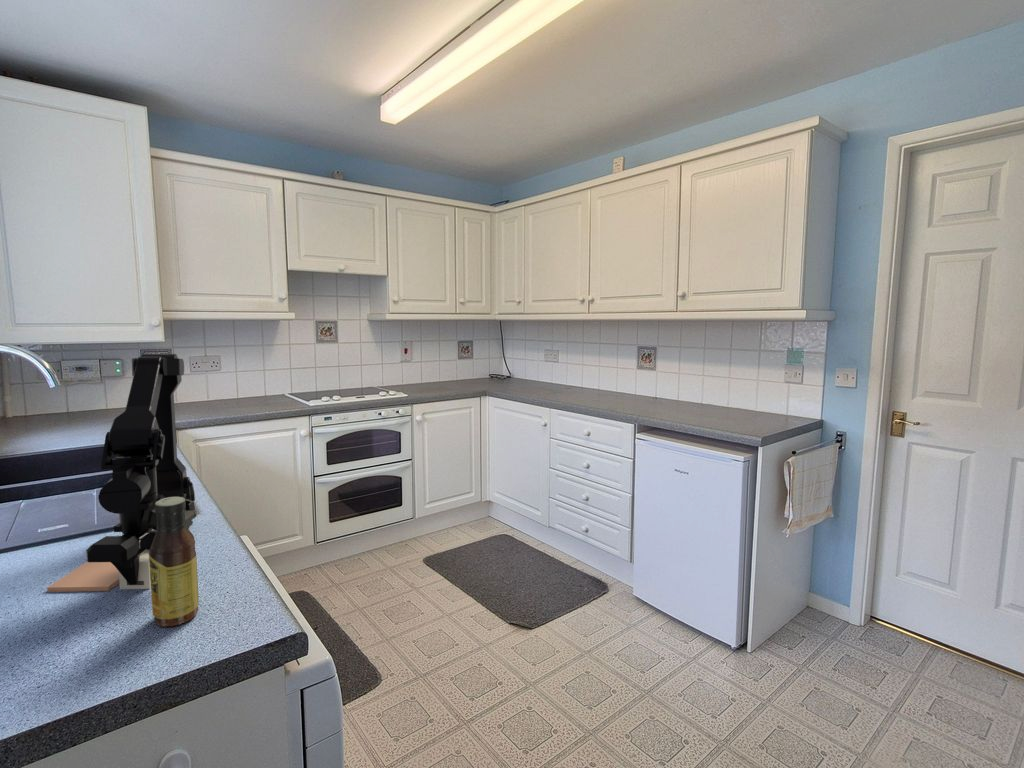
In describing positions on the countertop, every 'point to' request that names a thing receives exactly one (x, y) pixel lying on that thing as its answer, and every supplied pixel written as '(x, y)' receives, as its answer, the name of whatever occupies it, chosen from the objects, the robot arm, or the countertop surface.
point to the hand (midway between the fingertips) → (143, 576)
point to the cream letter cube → (139, 574)
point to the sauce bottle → (173, 565)
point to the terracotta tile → (88, 578)
